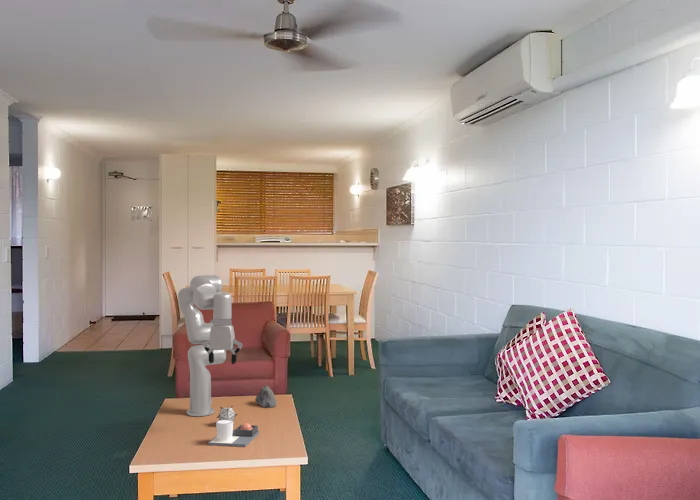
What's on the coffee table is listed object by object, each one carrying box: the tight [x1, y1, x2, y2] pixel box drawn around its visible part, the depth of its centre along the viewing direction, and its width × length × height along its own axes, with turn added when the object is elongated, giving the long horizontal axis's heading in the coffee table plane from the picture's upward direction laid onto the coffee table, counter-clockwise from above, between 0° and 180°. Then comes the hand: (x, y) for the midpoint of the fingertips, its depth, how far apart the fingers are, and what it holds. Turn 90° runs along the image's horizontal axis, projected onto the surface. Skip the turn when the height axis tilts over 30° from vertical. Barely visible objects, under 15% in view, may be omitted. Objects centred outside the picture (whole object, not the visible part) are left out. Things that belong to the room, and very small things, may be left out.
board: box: [207, 424, 260, 448], centre depth 260 cm, size 18×15×4 cm
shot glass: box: [215, 419, 234, 441], centre depth 256 cm, size 7×7×7 cm
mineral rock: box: [254, 384, 278, 408], centre depth 316 cm, size 13×11×10 cm
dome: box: [240, 422, 253, 430], centre depth 264 cm, size 5×5×4 cm
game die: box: [216, 405, 238, 426], centre depth 280 cm, size 9×8×10 cm
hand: (222, 363), depth 272 cm, fingers open, 9 cm apart
